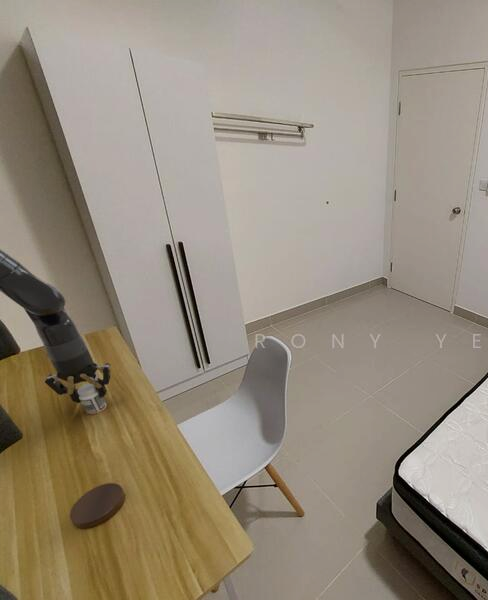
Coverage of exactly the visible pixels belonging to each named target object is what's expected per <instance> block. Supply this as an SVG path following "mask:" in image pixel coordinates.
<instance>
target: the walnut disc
mask: <svg viewBox="0 0 488 600" xmlns="http://www.w3.org/2000/svg"><path fill="white" fill-rule="evenodd" d="M125 499H126V494H125V491H124V490H123V487H122V486H121V485H120V484H118V483H114V482H107V483H103V484H100V485H98V486H96V487H94V488H92V489H90V490H88V491H87V492H85V493H84V494H83V495H82V496H80V498H78V499H77V500H76V502H75V503H74V504H73V505H72V507H71V509H70V511H69V518H70V520H71V522H72V524H73V525H74V526H75V527H76V528H78V529H82V530H83V529H86V530H87V529H92V528H94V527H97V526H99V525H101V524H103V523H105V522H106V521H108V520H109V519H111V518H112V517H113V516H115V515H116V514H117V513H118V512H119V510H120V509H121V508H122V506H123V504H124V503H125Z"/></svg>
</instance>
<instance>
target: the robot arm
mask: <svg viewBox="0 0 488 600" xmlns="http://www.w3.org/2000/svg"><path fill="white" fill-rule="evenodd" d="M0 292H1V294H4V295H5V296H6V297H7V298H9V299H10V300H11V301H13V302H14V303H16V304H17V305H18V306H20V307H21V308H23V309H24V311H25V313H26V314H27V316H28V317H29V319H30V320H31V323H32V324H33V325H34V327H35V330H36V332H37V335H38V337H39V339H40V341H41V342H42V344H43V347H44V350H45V353H46V356H47V357H48V358H49V360H50V362H51V364H52V366H53V368H54V370H55V372H56V373H55V374H49V375H47V377H46V378H45V380H44V384H46V385H47V386H48V387H49V388H50V389H51V390H53V391H54V392H55V393H56V394H57V395H59V396H62V395H64V394H65V395H66V394H67V395H69V397H70V398H71V401H72V402H74V403H76V404H80V403H81V401H80V400H79V395H78V392H77V390H78V389H79V388H76V386H77V384H80V383H86V382H87V383H88V384H93V385H94V386H95V387H97V391H98V393H99V395H100V397H103V398H105V396H106V395H107V392H108V390H107V387H106V386H107V385H109V383H110V380H111V364H110V363H109V362H106V363H104V364H101V365H100V364H99V365H98V364H97V363H96V362H94V360H93V357H92V355H91V352H90V351H89V349H88V346H87V344H86V342H85V340H84V338H83V337H82V336H81V333H80V332H79V330H78V327H77V326H76V323H75V321H74V320H73V319H72V318H71V316H70V315H69V314H68V313H67V311H66V309H65V306H66V298H65V296H64V294H63V293H62V292H61V291H60V290H59V289H57V288H56V287H55V286H54V285H52V284H50V283H49V282H46V281H44V280H42V279H41V278H39V277H38V276H36V275H35V274H34V273H32V272H31V271H30V270H29V269H28V268H27V267H26V266H24V265H23V264H22V263H20V261H18V260H17V259H15V258H14V257H12V256H11V255H9V254H8V253H7V252H5V251H4V250H2V249H1V248H0ZM97 371H99V373H101V374H102V378H101V377H100V376H99V374H98V373H97ZM61 380H62V381H65V382H67V385H65V384H64V383H63V382H61Z"/></svg>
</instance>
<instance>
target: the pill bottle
mask: <svg viewBox="0 0 488 600" xmlns="http://www.w3.org/2000/svg"><path fill="white" fill-rule="evenodd" d="M77 389H78V390H77V392H78V395H79V400H80V401H81V402H80V403H81V405H82V407H83V409H84V411H85V413H86V414H87V415H95V414H98V413H100V412H102V411H104V410H105V409H106V408H107V406H108V405H107V402H106V400H105V397H100V395H99V393H98V391H97V387H95V386H94V385H93V384H90V383H86V384H83V385H81V386H79V388H77Z"/></svg>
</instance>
